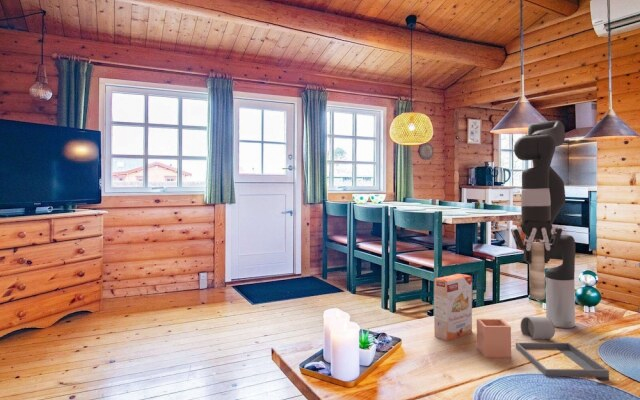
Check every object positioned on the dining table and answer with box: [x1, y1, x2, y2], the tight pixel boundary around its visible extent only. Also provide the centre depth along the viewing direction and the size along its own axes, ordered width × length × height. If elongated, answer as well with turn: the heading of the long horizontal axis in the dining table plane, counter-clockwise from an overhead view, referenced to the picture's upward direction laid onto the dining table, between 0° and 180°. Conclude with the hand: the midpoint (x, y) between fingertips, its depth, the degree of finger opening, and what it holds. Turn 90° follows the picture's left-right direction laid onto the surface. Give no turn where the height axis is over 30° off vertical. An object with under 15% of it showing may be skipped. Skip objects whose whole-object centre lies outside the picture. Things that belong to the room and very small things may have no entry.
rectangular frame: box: [515, 342, 610, 381], centre depth 118 cm, size 20×16×2 cm
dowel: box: [528, 241, 546, 300], centre depth 120 cm, size 4×4×16 cm
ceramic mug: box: [520, 316, 556, 341], centre depth 140 cm, size 11×8×8 cm
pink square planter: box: [476, 318, 512, 358], centre depth 126 cm, size 8×8×10 cm
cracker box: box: [433, 273, 473, 342], centre depth 142 cm, size 14×6×21 cm, turn 126°
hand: (536, 262), depth 120 cm, fingers closed on dowel, 4 cm apart
